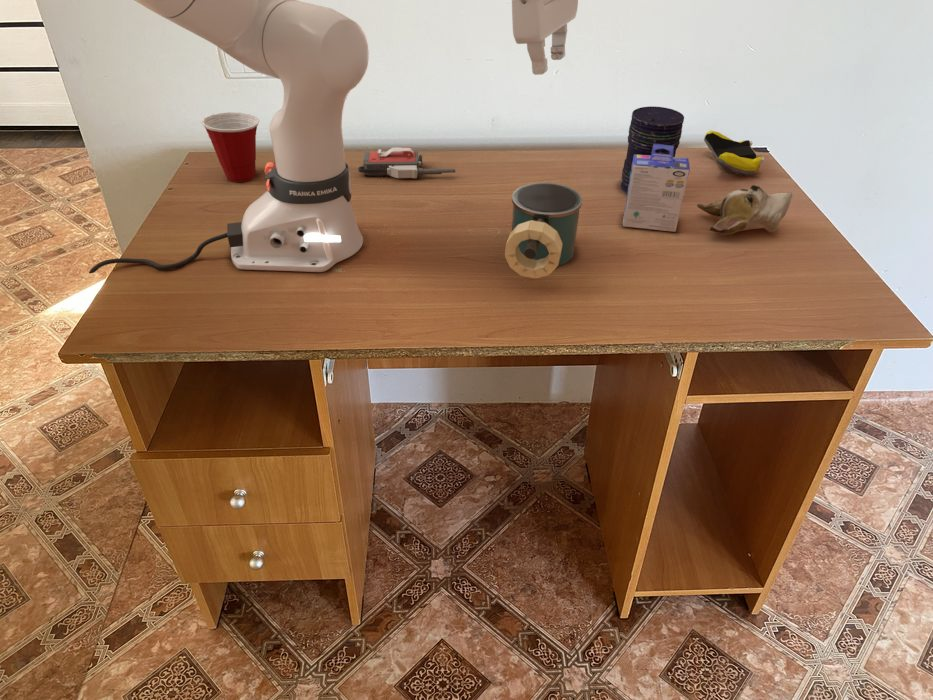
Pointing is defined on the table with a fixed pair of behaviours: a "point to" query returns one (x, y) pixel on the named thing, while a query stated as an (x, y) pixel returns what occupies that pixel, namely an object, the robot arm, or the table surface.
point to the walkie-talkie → (396, 164)
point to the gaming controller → (733, 154)
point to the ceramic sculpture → (748, 210)
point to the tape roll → (534, 232)
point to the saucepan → (547, 216)
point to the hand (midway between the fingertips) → (549, 65)
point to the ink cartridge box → (656, 190)
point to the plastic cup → (234, 143)
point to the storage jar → (651, 135)
